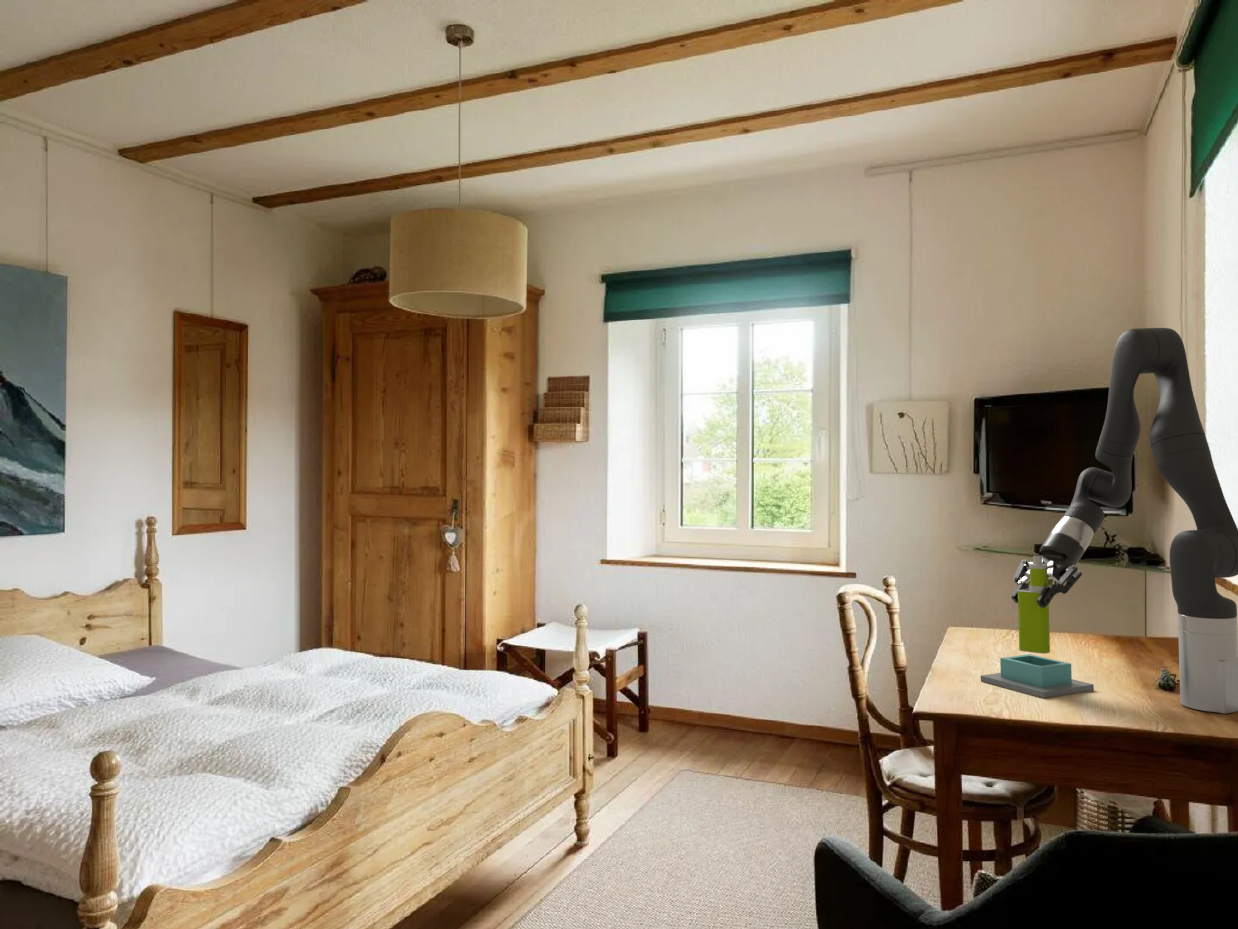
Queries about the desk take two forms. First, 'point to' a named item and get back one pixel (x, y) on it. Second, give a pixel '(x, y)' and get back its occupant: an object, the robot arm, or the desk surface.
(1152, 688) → the desk surface
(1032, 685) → the dock
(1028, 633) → the vape
